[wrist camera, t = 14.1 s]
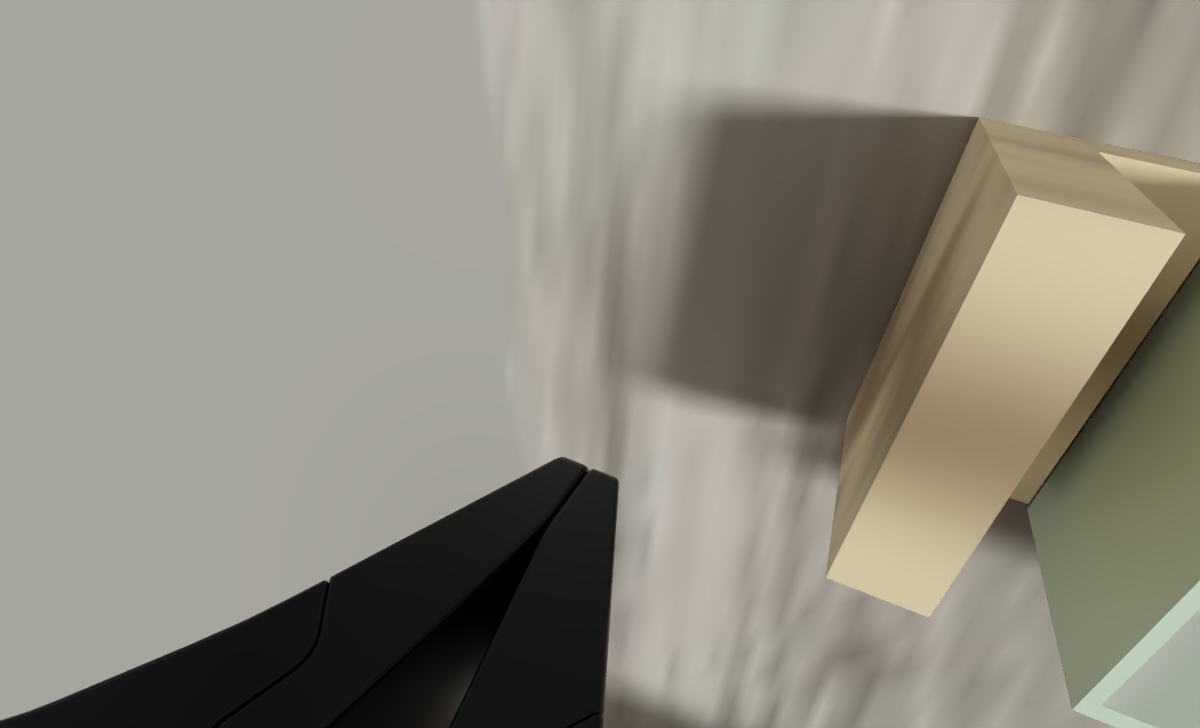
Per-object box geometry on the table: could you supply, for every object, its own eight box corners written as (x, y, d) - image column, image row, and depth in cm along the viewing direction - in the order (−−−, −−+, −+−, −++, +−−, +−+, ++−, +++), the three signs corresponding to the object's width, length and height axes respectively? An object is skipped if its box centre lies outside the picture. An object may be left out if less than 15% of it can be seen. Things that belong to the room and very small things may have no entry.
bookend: (1021, 474, 17) (1066, 671, 12) (847, 416, 18) (825, 577, 13) (1224, 168, 13) (1419, 288, 8) (978, 116, 14) (1017, 194, 9)
